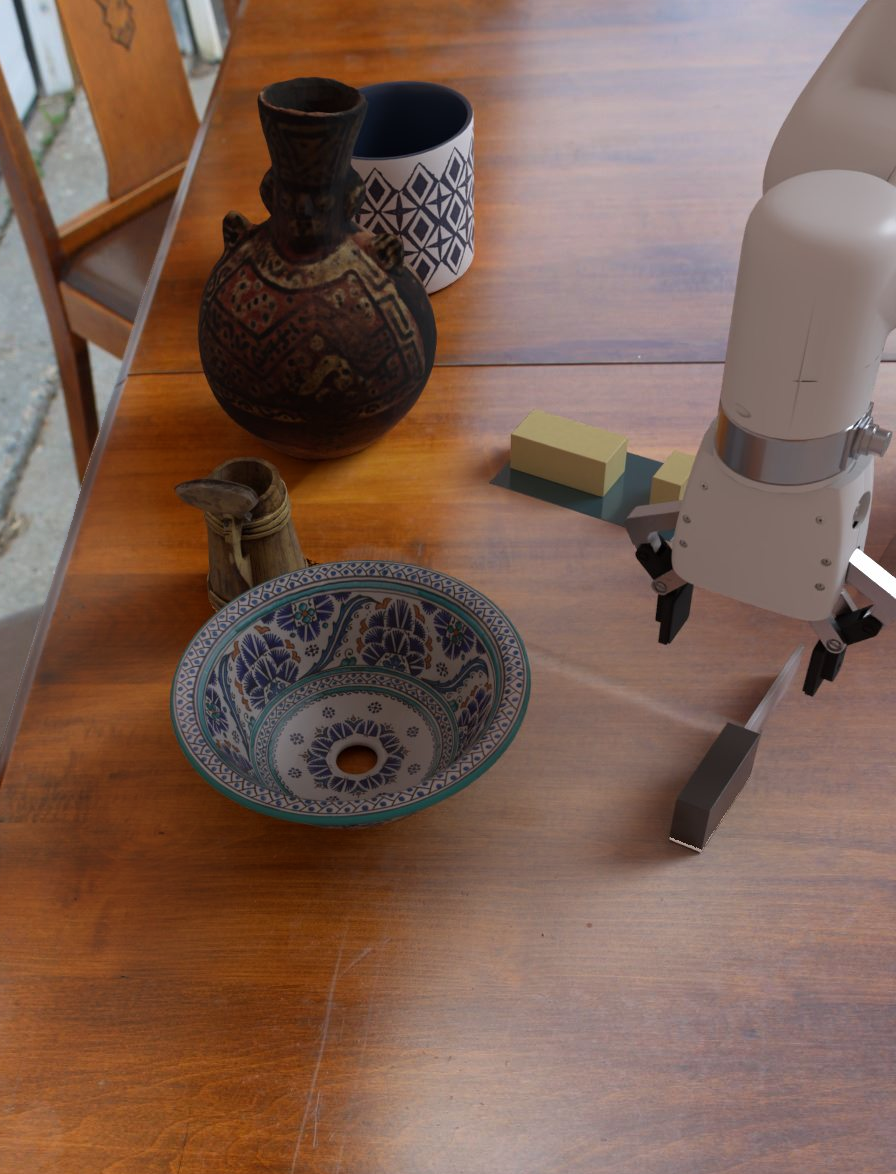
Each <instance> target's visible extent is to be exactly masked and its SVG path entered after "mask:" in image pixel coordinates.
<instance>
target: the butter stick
mask: <svg viewBox="0 0 896 1174" xmlns="http://www.w3.org/2000/svg"><path fill="white" fill-rule="evenodd" d="M628 442H629V436H627V435H624V434H621V433H617V432H614V431H610V430H608V429H604V428H600V427H597V426H594V425H591V424H587V423H583V422H580V421H576V420H574V419H570V418H566V417H563V416H559V415H556V414H553V413H549V412H546V411H543V410H539V409H536V408H533V409H532V410H531V411H530V412H529V413H528V415H526V417H525V418H524V419H523V420H522V421H521V422H520V423H519V424H518V426H517V427H516V428H515V429H514V430H513V431H512V432H511V433H510V456H509V457H510V458H509V460H510V468H512V469H515V470H518V471H521V472H525V473H528V474H531V475H534V476H537V477H540V478H543V479H547V480H550V481H553V482H556V483H559V484H562V485H565V486H569V487H572V488H575V489H578V490H581V491H584V492H587V493H590V494H594V495H597V496H600V497H604V495H605V494H606V493H607V492H608V491H609V489H610V488H611V487H612V486H613V485H614V483H615V482H616V481H617V480H618V479H619V477H620V476H621V475H622V474H623V472H624V471H625V463H626V453H627V452H628Z"/></svg>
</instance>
